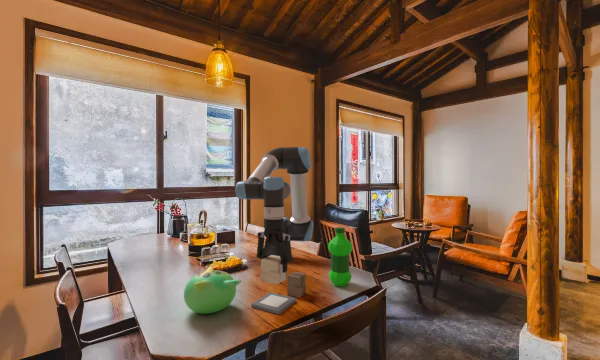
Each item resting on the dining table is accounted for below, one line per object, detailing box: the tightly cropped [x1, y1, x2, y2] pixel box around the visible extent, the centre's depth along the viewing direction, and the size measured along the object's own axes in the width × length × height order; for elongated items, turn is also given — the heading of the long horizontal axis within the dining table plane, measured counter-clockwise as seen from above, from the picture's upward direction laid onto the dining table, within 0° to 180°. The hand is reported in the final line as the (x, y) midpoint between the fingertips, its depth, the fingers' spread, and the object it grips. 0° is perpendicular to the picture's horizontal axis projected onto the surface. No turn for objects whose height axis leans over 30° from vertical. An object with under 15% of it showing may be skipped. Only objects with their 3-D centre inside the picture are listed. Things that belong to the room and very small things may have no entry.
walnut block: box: [286, 271, 307, 299], centre depth 117 cm, size 6×6×8 cm
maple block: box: [260, 255, 288, 285], centre depth 107 cm, size 7×7×8 cm
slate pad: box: [251, 291, 297, 315], centre depth 108 cm, size 12×12×1 cm
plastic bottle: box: [327, 226, 353, 287], centre depth 127 cm, size 10×10×25 cm
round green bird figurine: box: [183, 266, 242, 315], centre depth 103 cm, size 18×17×15 cm
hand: (274, 278), depth 107 cm, fingers closed on maple block, 7 cm apart
